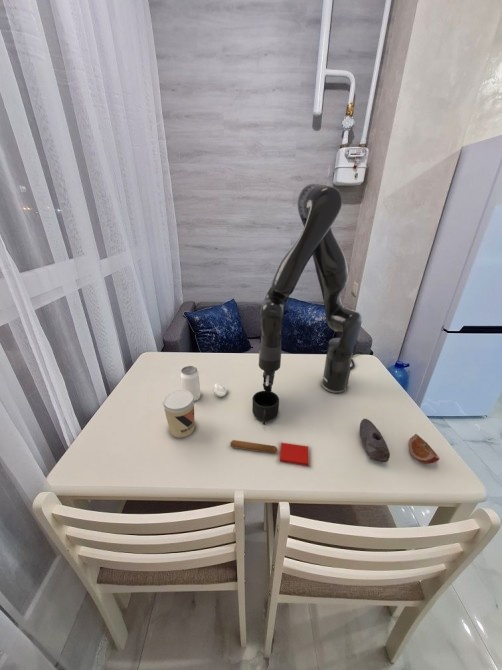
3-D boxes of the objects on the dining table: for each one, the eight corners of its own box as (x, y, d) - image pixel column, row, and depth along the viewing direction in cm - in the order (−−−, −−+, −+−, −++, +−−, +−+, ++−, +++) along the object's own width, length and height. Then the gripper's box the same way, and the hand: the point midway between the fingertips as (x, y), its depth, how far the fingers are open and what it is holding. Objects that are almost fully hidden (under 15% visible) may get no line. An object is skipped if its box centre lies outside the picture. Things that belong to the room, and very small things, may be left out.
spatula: (228, 453, 77) (228, 448, 76) (232, 437, 82) (232, 433, 81) (308, 466, 73) (309, 461, 72) (307, 448, 79) (308, 443, 78)
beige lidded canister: (182, 444, 79) (178, 413, 74) (161, 431, 84) (155, 402, 79) (203, 425, 87) (200, 396, 81) (182, 414, 91) (178, 386, 86)
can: (196, 403, 96) (194, 376, 91) (180, 400, 98) (176, 373, 92) (203, 392, 102) (200, 366, 97) (187, 390, 103) (184, 364, 98)
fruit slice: (401, 445, 80) (406, 433, 78) (423, 444, 80) (428, 432, 78) (418, 469, 73) (423, 457, 70) (442, 469, 73) (448, 456, 71)
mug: (253, 405, 96) (253, 389, 93) (278, 407, 95) (279, 391, 92) (250, 429, 85) (250, 412, 82) (278, 432, 84) (279, 415, 81)
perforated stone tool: (353, 427, 87) (357, 410, 84) (369, 428, 86) (374, 411, 83) (368, 467, 73) (374, 449, 70) (388, 468, 73) (394, 450, 70)
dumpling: (213, 390, 104) (214, 381, 103) (226, 392, 105) (227, 383, 104) (211, 398, 97) (213, 389, 96) (225, 400, 98) (227, 391, 97)
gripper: (279, 366, 83) (276, 408, 91) (282, 346, 95) (279, 386, 102) (256, 363, 84) (255, 406, 92) (261, 344, 96) (260, 383, 103)
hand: (268, 395), depth 97 cm, fingers closed
